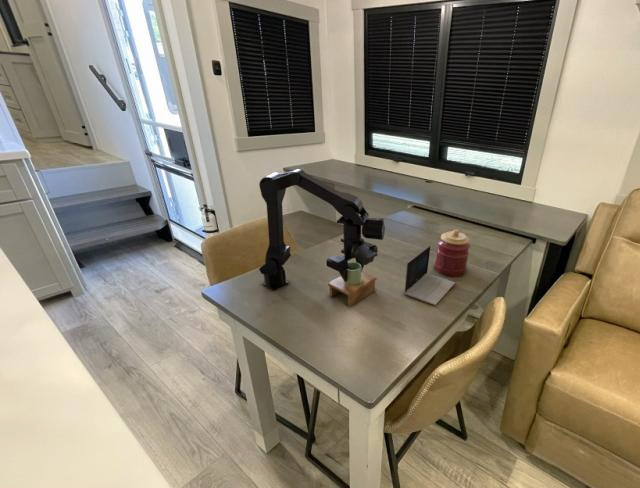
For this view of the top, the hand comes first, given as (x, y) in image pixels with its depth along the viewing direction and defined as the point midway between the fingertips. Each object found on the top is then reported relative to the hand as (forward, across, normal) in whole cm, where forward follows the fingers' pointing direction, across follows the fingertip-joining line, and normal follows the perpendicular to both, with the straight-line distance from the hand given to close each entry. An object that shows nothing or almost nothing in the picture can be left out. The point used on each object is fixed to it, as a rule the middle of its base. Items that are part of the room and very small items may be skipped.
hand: (352, 277), depth 114 cm
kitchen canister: (+7, +40, -18) cm, 44 cm away
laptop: (+7, +21, -20) cm, 30 cm away
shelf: (+7, 0, 0) cm, 7 cm away
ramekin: (+1, 0, 0) cm, 1 cm away
